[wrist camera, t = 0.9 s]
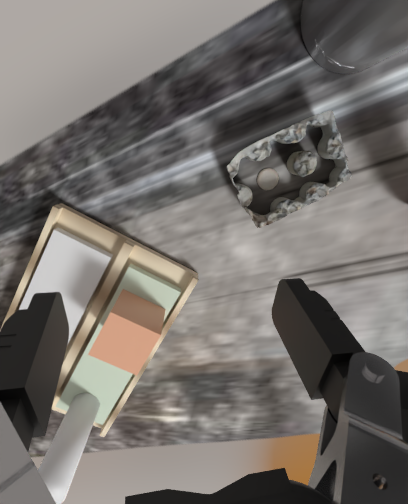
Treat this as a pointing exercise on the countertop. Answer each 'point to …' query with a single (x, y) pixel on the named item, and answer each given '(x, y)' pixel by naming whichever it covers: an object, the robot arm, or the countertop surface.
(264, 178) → the egg carton
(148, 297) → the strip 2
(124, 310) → the cube
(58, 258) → the strip
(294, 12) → the countertop surface
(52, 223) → the board
